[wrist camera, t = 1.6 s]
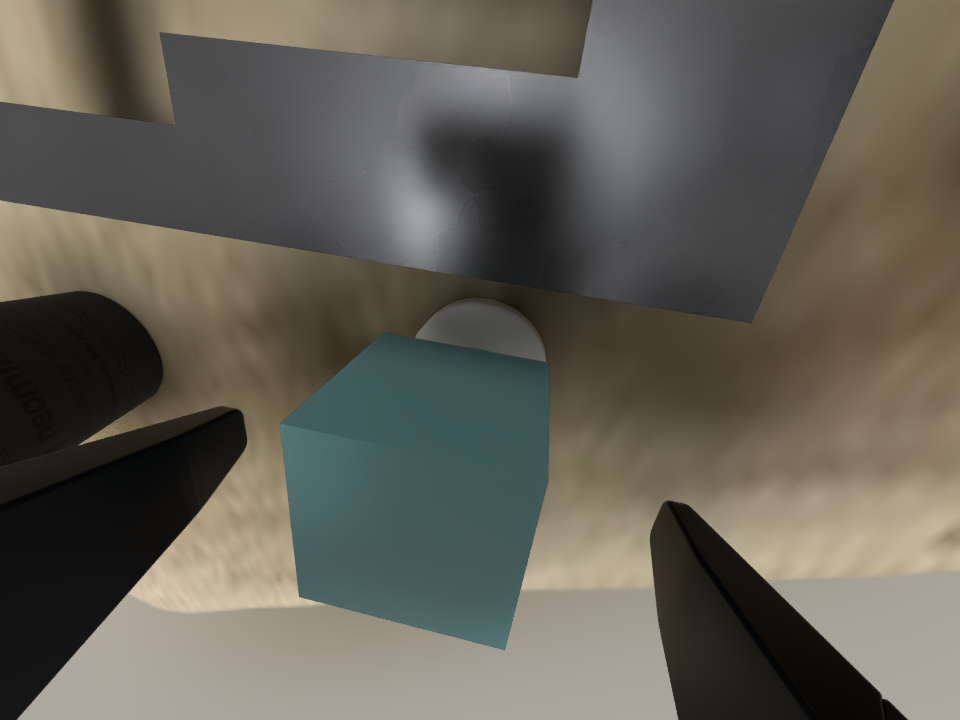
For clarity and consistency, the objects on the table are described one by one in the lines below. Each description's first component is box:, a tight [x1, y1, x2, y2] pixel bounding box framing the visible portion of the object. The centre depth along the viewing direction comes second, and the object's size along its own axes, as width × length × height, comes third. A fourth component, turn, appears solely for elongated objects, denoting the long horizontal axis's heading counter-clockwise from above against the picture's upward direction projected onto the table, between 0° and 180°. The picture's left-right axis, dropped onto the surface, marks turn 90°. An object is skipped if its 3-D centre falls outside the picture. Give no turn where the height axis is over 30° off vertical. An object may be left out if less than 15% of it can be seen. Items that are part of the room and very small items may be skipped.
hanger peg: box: [280, 298, 550, 650], centre depth 10 cm, size 4×4×8 cm
